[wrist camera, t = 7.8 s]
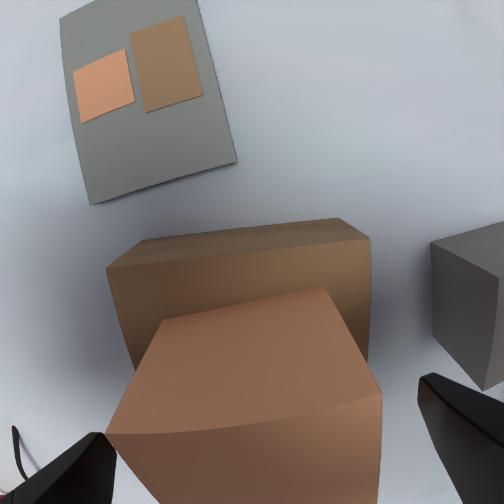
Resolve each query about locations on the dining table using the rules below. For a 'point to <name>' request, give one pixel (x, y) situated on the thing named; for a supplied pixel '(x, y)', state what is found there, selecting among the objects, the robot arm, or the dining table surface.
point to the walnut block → (240, 275)
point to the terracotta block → (254, 408)
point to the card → (142, 95)
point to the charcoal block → (471, 301)
